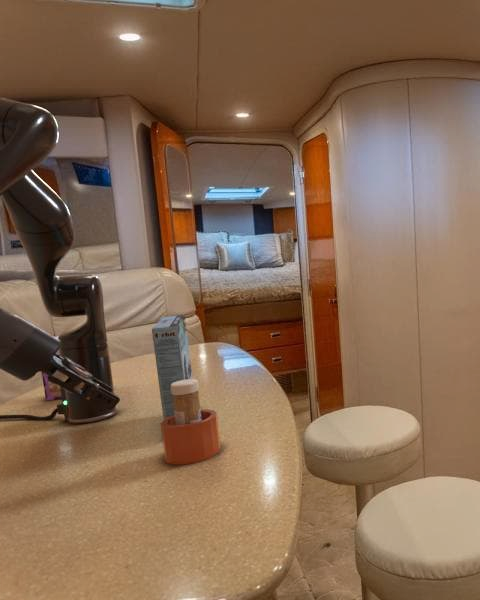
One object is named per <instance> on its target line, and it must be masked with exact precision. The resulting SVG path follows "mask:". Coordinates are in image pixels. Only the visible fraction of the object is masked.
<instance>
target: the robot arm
mask: <svg viewBox="0 0 480 600" xmlns="http://www.w3.org/2000/svg"><path fill="white" fill-rule="evenodd" d="M58 142H59V126H58V122H57V120H56V119H55V117H54V115H53V114H52V113H51V112H50V111H48V110H47V109H45V108H43V107H40V106H37V105H34V104H32V103H31V104H30V103H26V102H21V101H17V100H13V99H9V98H6V97H2V96H0V198H1V199H2V201H3V203H4V206H5V208H6V210H7V213H8V215H9V217H10V220H11V223H12V225H13V228H14V230H15V233H16V236H17V237H18V240H19V242H20V244H21V246H22V248H23V250H24V253H25V254H26V257H27V259H28V261H29V264H30V266H31V268H32V271H33V275H34V278H35V281H36V284H37V288H38V291H39V294H40V295H39V296H40V297H41V301H42V304H43V306H44V309H45V311H46V312H47V313H48V314H49V315H50V316H51V317H53V318H71V317H72V318H73V317H83V316H86V320H85V322H83V323H82V324H81V325H80V326H78V327H75V328H74V329H71V330H69V331H67V332H64V333H61V334H59V335H58V336H59V337H58V339H57V338H55V337H53V335H52V334H50V333H48V332H46V331H45V330H43V329H41V328H40V327H38V326H36V324H35V325H34V324H33V323H31V322H30V321H28V320H26V319H24V318H22V317H21V316H19V315H17V314H15V313H12V312H10V311H8V310H6V309H4V308H2V307H0V370H2V371H3V372H5V373H7V374H9V375H11V376H13V377H15V378H17V379H19V380H21V381H29V380H31V379H32V378H34V377H35V376H36V374H38V373H42V372H44V373H45V374H47V375H48V376H47V378H48V381H49V382H51V383H52V384H55V385H58V386H60V390H61V397H62V398H61V403H58V404H56V408H54V409H53V410H52V412H51V413H50V414H49V415H47V416H37V415H33V414H32V415H31V414H0V420H12V419H15V420H17V419H24V420H25V419H26V420H32V421H49V420H53V418H55V417H56V415H63V417H64V418H63V419H64V422H68V423H70V424H87V423H88V424H89V423H93V422H98V421H102V420H105V419H108V418H110V417H113V416H114V415H116V414H117V413H118V407H117V405H118V404H119V403H120V401H121V398H120V397H119V396H117V394H115V388H114V381H113V373H112V364H111V357H110V351H109V343H108V336H107V327H106V321H105V305H104V292H103V287H102V282H101V280H100V279H99V277H98V276H96V275H95V274H84V275H83V274H81V275H66V276H64V275H63V276H59V275H57V271H58V269H59V266H60V264H61V263H62V261H63V260H64V259H65V257H67V255H68V253H69V252H70V251H71V249H72V247H73V245H74V243H75V240H76V229H75V225H74V223H73V219H72V215H71V213H70V211H69V209H68V206H67V204H66V202H65V201H64V200H63V199H62V198H61V197H60V196H59V195H58V194H57V192H55V191H54V190H53V189H52V188H51V186H49V185H48V184H47V183H46V182H45V181H44V180H43V179H42V178H41V177H40V176H39V175H38V174H36V172H34V170H35V168H37V167H38V166H40V164H41V163H43V162H44V161H45V160H46V159H47V158H48V157H49V156H50V155H51V154H52V153H53V151H54V150H55V148H56V146H57V143H58ZM58 350H59V354H56V353H57V351H58Z"/></svg>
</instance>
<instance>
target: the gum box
mask: <svg viewBox="0 0 480 600" xmlns="http://www.w3.org/2000/svg"><path fill="white" fill-rule="evenodd" d="M151 334H152V341H153V348H154V356H155V364H156V373H157V380H158V387H159V395H160V401H161V410H162V418H163V419H162V420H164V419H166V418H167V417H169V416H172V415H175V414H174V402H173V396H172V394H171V384H172V383H174V382H176V381H180V380H186V379H194V377H193V369H192V361H191V353H190V347H189V340H188V339H189V337H188V332H187V324H186V315H184V314H179V315H178V314H177V315H170V316H163V317H162V318H161V319H160V320H159V321H158V322H157V323H156V324H155V325H154V326H153V327H152V328H151Z"/></svg>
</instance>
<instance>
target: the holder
mask: <svg viewBox="0 0 480 600" xmlns="http://www.w3.org/2000/svg"><path fill="white" fill-rule="evenodd" d="M200 409H201V408H200ZM201 417H202V421H199V422H195V423H191V424H185V425H176V422H175V415H172V416H169V417H167V418H166V419H162V420H161V422H160V429H161V438H162V448H163V454H164V459H165V462H166V463H168V464H170V465H189V464H193V463H198V462H202V461H205V460H207V459H209V458H212V457H215V456H216V455H217V454H218V453H219V452H220V450H221V438H220V437H221V436H220V427H219V419H218V413H217V412H216V410H215V409H208V408H206V409H201Z"/></svg>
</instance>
